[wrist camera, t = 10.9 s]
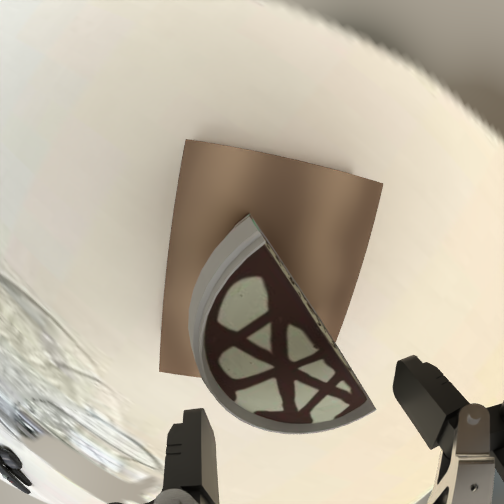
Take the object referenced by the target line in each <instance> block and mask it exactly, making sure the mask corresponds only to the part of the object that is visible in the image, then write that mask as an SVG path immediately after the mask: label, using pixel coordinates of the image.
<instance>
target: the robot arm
mask: <svg viewBox="0 0 504 504" xmlns="http://www.w3.org/2000/svg"><path fill="white" fill-rule="evenodd" d="M393 392H394V395H395V398H396V399H397V401H398V402H399V404H400V405H401V407H402V408H403V410H404V411H405V412H406V414H407V415H408V417H409V418H410V420H411V421H412V423H413V424H414V426H415V427H416V429H417V430H418V432H419V433H420V435H421V436H422V438H423V439H424V441H425V442H426V444H427V445H428V447H429V448H430V450H432V449H433V448H435V447H437V446H440V447H441V449H442V450H441V452H440V457H439V463H438V468H437V473H436V478H435V483H434V487H433V490H432V493H431V495H430V497H429V499H428V502H427V504H491V501H492V493H493V484H494V472H495V468H496V470H497V472H498V473H499V475H500V476H501V478H502V480H503V481H504V401H503V403H502V404H499V405H495V406H492V407H488V408H485V407H484V406H483V405H480V404H476V403H473V404H470V403H469V402H468V401H467V400H466V399H465V398H464V397H463V396H462V394H461V393H460V392H459V391H458V390H457V389H456V388H455V387H454V386H453V384H452V383H451V382H449V380H448V379H447V378H446V377H445V376H443V373H442V372H441V371H440V370H439V369H438V368H437V367H435V366H434V365H432V364H430V363H428V362H425V363H422V362H421V361H420V360H419V359H418V357H417V356H415V355H412V356H409V357H407V358H404V359H402V360H399V361H398V362H397V364H396V371H395V377H394V382H393ZM109 504H122V503H116V502H115V503H109ZM145 504H219V492H218V477H217V461H216V443H215V437H214V433H213V430H212V427H211V425H210V423H209V420H208V418H207V415H206V413H205V410H204V409H203V408H199V409H191V410H184V413H183V423H179V424H173V426H172V428H171V429H170V431H169V433H168V436H167V447H166V457H165V469H164V482H163V489H162V491H161V493H160V494H159V495H158V496H157V497H156V499H154V500H153V501H151V502H149V503H145Z"/></svg>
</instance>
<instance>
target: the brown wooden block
mask: <svg viewBox="0 0 504 504" xmlns="http://www.w3.org/2000/svg"><path fill="white" fill-rule="evenodd" d="M382 187H383V183H379V182H376V181H373V180H369V179H366V178H363V177H359V176H356V175H352V174H349V173H345V172H341V171H338V170H334V169H330V168H326V167H323V166H319V165H315V164H311V163H307V162H302V161H298V160H294V159H290V158H285V157H281V156H276V155H271V154H267V153H262V152H257V151H252V150H247V149H242V148H236V147H231V146H225V145H219V144H213V143H207V142H201V141H194V140H188V139H186V141H185V146H184V152H183V157H182V163H181V168H180V174H179V180H178V186H177V193H176V199H175V206H174V213H173V220H172V227H171V235H170V243H169V251H168V260H167V269H166V279H165V289H164V300H163V313H162V327H161V343H160V364H159V372H165V373H171V374H178V375H185V376H193V377H201V375H200V373H199V370H198V367H197V365H196V362H195V358H194V355H193V351H192V348H191V343H190V336H189V330H188V319H189V306H190V302H191V298H192V293H193V289H194V287H195V284H196V282H197V279H198V277H199V275H200V272H201V270H202V268H203V267H204V265H205V263H206V262H207V260H208V259H209V257H210V256H211V254H212V253H213V251H214V250H215V248H216V247H217V246H218V245H219V244H220V243H221V242H222V241H223V239H224V238H225V237H226V236H227V235H228V233H229V232H230V230H231V229H232V228H233V226H234V225H235V223H237V222H238V221H239V220H240V219H242V218H243V217H244V216H245V215H246V214H248V213H250V214H251V216H252V217H253V219H254V220H255V222H256V223H257V225H258V226H259V228H260V229H261V231H262V232H263V233H264V235H265V236H266V238H267V239H268V241H269V242H270V244H271V245H272V247H273V248H274V250H275V251H276V253H277V254H278V256H279V257H280V259H281V260H282V262H283V263H284V265H285V266H286V268H287V269H288V271H289V272H290V274H291V275H292V277H293V278H294V280H295V281H296V283H297V284H298V286H299V287H300V289H301V290H302V292H303V293H304V295H305V296H306V298H307V299H308V301H309V302H310V304H311V305H312V307H313V308H314V310H315V311H316V313H317V315H318V316H319V318H320V319H321V321H322V322H323V324H324V326H325V327H326V329H327V330H328V332H329V334H330V335H331V337H332V338H333V340H334V342H336V340H337V337H338V334H339V332H340V329H341V326H342V324H343V321H344V318H345V315H346V312H347V309H348V306H349V304H350V301H351V298H352V295H353V292H354V288H355V285H356V282H357V279H358V276H359V273H360V269H361V266H362V263H363V260H364V256H365V253H366V249H367V246H368V242H369V239H370V235H371V231H372V228H373V224H374V220H375V216H376V212H377V208H378V204H379V200H380V196H381V191H382Z"/></svg>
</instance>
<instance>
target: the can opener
mask: <svg viewBox="0 0 504 504" xmlns="http://www.w3.org/2000/svg"><path fill="white" fill-rule="evenodd" d="M3 465H4V466H3ZM21 468H22V464H21V462H20V460H19V459H18V458H17V456H16V455H14V454H13V453H12V452H10V451H8V450H5V449H3V448H1V449H0V473H1V474H2V476H3V477H4V478H5V479H7V480H8V481H9V482H11V483H12V484H13V485H14V486H16V487H17V488H18V489H20V490H21V491H23V492H24V493H27V494H29V493H31V492H30V491H29V490H28V489H27V488H26V487H25V486H24V485H23V484H22V483H21V482H23V483H24V484H25V485H27V486H31V482H30V481H29V480H28V479H27V478H26V477H25V476H24V475H23V474H22V473H21V472H19V471H18V470H17V469H21ZM16 477H17V478H18V479H19V480H20V481H21V482H20V481H19V480H18V479H17V478H16Z"/></svg>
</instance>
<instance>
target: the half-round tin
mask: <svg viewBox="0 0 504 504" xmlns="http://www.w3.org/2000/svg"><path fill="white" fill-rule="evenodd" d="M188 330H189V336H190V343H191V348H192V351H193V355H194V358H195V362H196V365H197V367H198V370H199V373H200V375H201V378H202V380H203V381H204V383H205V384H206V386H207V388H208V389H209V391H210V392H211V393H212V394H213V395H214V397H215V398H216V400H217V401H218V402H219V403H220V404H221V405H222V406H223V407H224V408H225V409H226V410H227V411H228V412H229V413H231V414H232V415H233V416H235V417H236V418H238V419H239V420H241V421H243V422H245V423H247V424H249V425H251V426H253V427H256V428H259V429H263V430H266V431H270V432H276V433H283V434H309V433H318V432H323V431H327V430H332V429H335V428H338V427H341V426H344V425H347V424H350V423H352V422H354V421H357V420H359V419H361V418H363V417H365V416H367V415H368V414H370V413H372V412H374V411H375V410H376V408H375V407H374V405H373V403H372V401H371V400H370V398H369V396H368V395H367V393H366V391H365V390H364V388H363V387H362V385H361V384H360V382H359V380H358V379H357V377H356V375H355V374H354V372H353V370H352V369H351V367H350V366H349V364H348V362H347V361H346V359H345V358H344V356H343V354H342V353H341V351H340V350H339V348H338V346H337V345H336V343H335V342H334V340H333V338H332V337H331V335H330V334H329V332H328V330H327V329H326V327H325V326H324V324H323V322H322V321H321V319H320V318H319V316H318V315H317V313H316V311H315V310H314V308H313V307H312V305H311V304H310V302H309V301H308V299H307V298H306V296H305V295H304V293H303V292H302V290H301V289H300V287H299V286H298V284H297V283H296V281H295V280H294V278H293V277H292V275H291V274H290V272H289V271H288V269H287V268H286V266H285V265H284V263H283V262H282V260H281V259H280V257H279V256H278V254H277V253H276V251H275V250H274V248H273V247H272V245H271V244H270V242H269V241H268V239H267V238H266V236H265V235H264V233H263V232H262V231H261V229H260V228H259V226H258V225H257V223H256V222H255V220H254V219H253V217H252V216H251V214H250V213H248V214H246V215H245V216H244V217H243V218H242V219H240V220H239V221H238V222H237V223H235V225H234V226H233V228H232V229H231V230H230V232H229V233H228V235H227V236H226V237H225V238H224V239H223V241H222V242H221V243H220V244H219V245H218V246H217V247H216V248H215V250H214V251H213V253H212V254H211V256H210V257H209V259H208V260H207V262H206V263H205V265H204V267H203V268H202V270H201V272H200V275H199V277H198V279H197V282H196V284H195V287H194V289H193V293H192V298H191V302H190V306H189V319H188Z"/></svg>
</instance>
